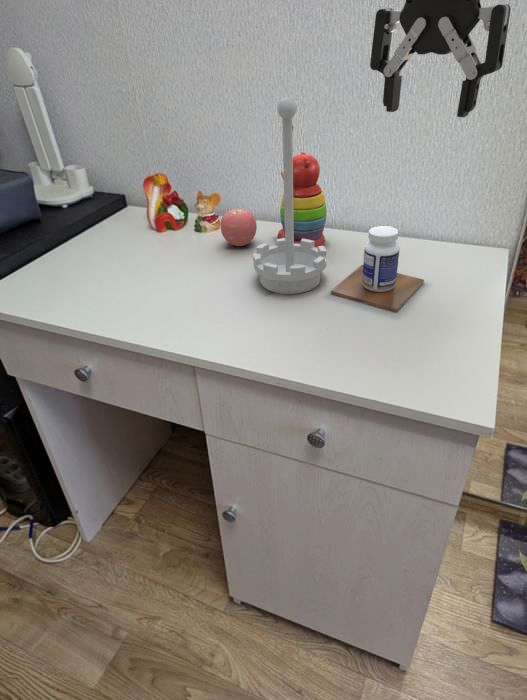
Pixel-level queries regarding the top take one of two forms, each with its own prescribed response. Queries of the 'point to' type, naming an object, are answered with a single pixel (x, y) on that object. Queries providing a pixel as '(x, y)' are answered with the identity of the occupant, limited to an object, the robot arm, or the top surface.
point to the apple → (238, 227)
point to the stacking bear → (306, 202)
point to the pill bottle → (381, 259)
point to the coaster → (384, 300)
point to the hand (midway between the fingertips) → (426, 113)
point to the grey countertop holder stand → (289, 233)
